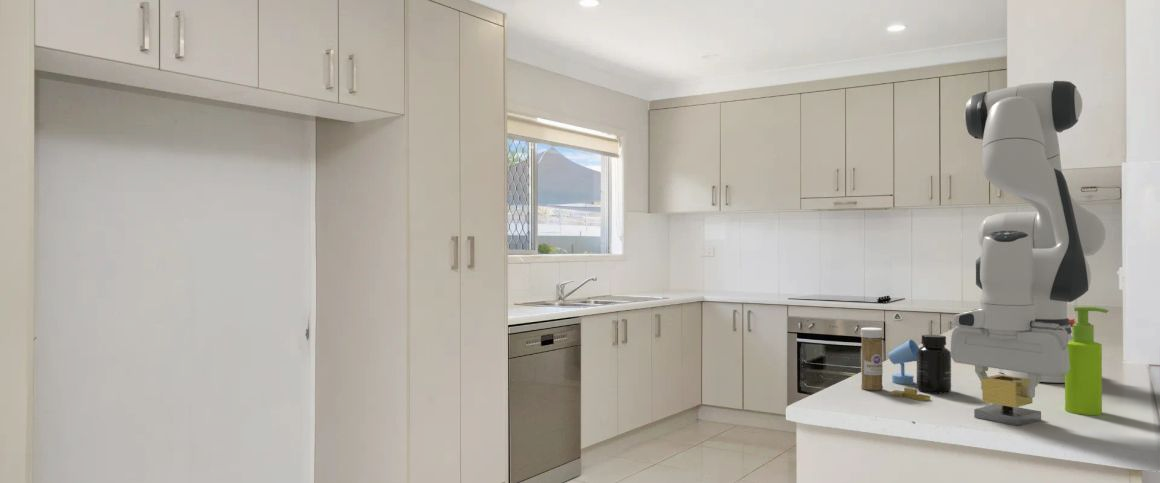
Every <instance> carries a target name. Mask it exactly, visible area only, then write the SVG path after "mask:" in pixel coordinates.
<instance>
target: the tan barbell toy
mask: <svg viewBox="0 0 1160 483" xmlns="http://www.w3.org/2000/svg"><path fill="white" fill-rule="evenodd" d="M917 390H918V389H917V388H911V387H904V389H903V390H898V389H897V390H896V389H894V390H892V391H890V395H891V396H893V397H894V396H895V397H900V398H901V397H902V398H905V397H906V398H909V399H913V400H915V401H916V400H917V401H922V402H927V401H931V396H930V395H928V394H921V393H919V394H918V391H917ZM903 396H904V397H903Z"/></svg>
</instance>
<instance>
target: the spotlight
mask: <svg viewBox="0 0 1160 483" xmlns="http://www.w3.org/2000/svg"><path fill="white" fill-rule="evenodd" d="M919 348H920V347H919V345H918V344H917V343H916V341H915V340H913V339H909V340H907V341H906V342H904V343H903V344H901V345H899V346H898V347H896V348H894V349H892V350H891V351H889V352H888V358H889V361H890V362H891V364H894V365H898V364H899V365H900V373H893V374H892V375H891V376H892V377H891V381H892V383H893V384H897V385H913V384H914V375H913V374H910V373H905V364H906V363H910V362H911V363H912V362H917V350H918V349H919Z"/></svg>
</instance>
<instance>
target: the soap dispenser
mask: <svg viewBox="0 0 1160 483" xmlns="http://www.w3.org/2000/svg"><path fill="white" fill-rule="evenodd" d="M1074 312H1077V322H1076V323H1075V324H1073V327H1072V337H1073V341H1068V345H1067V348H1068V354H1069V362H1070V370H1069V372H1068V373H1067V374H1066V375H1065V383H1064V401H1065V402H1064V410H1065V412H1068V413H1071V414H1075V415H1083V416H1099V415H1102V414H1103V383H1102V382H1103V379H1102V378H1103V363H1102V362H1103V356H1102V355H1103V354H1102V352H1103V351H1102V350H1103V349H1102V348H1103V346H1102V345H1103V344H1102V343H1101V342H1100V343H1099V342H1096V341H1095V339H1094V338H1095V337H1094V336H1095V335H1094V334H1095V327H1094V324H1092V323H1090V322H1089V312H1100V313H1103V314H1104V313H1105V314H1106V313H1108V312H1109V310H1108V309H1106V308H1103V307H1102V308H1100V307H1097V306H1076V307H1075V306H1074Z"/></svg>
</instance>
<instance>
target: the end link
mask: <svg viewBox="0 0 1160 483" xmlns="http://www.w3.org/2000/svg"><path fill="white" fill-rule="evenodd" d="M1006 380H1012V381H1006ZM1030 381H1031V379H1027V378H1021V377H1014V376H1007V375H1005V374H1001V373H1000V374H999V373H998V374H995V375H991V376H988V377H985V378H982V389H981V391H982V392H981V393H982V394H981V395H982V396H981V397H982V400H981V401H982V402H984V403H987V404H992V405H993V404H998V405H1004V406H1009V407H1015V408H1016V407H1019V408H1021V407H1023V406H1027V405H1030V404H1033V398H1027V397H1022V387H1025V386H1028V384H1029V382H1030Z"/></svg>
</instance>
